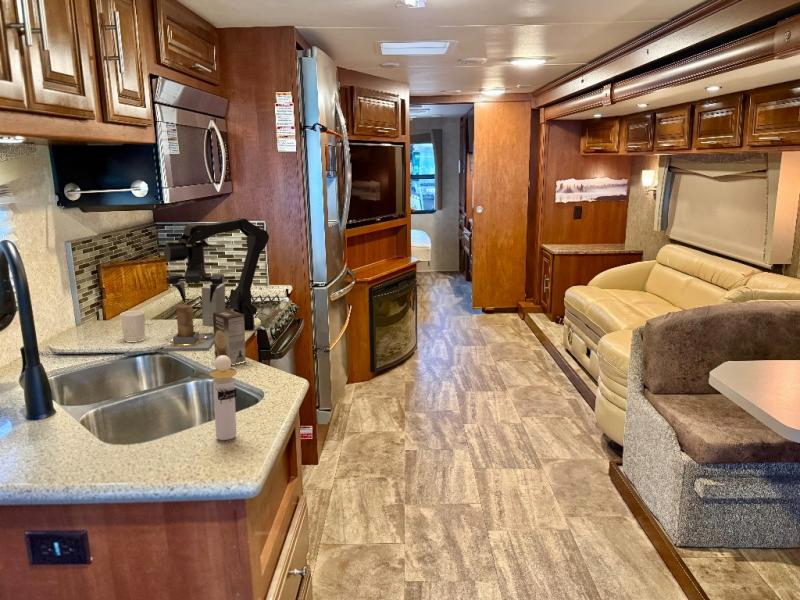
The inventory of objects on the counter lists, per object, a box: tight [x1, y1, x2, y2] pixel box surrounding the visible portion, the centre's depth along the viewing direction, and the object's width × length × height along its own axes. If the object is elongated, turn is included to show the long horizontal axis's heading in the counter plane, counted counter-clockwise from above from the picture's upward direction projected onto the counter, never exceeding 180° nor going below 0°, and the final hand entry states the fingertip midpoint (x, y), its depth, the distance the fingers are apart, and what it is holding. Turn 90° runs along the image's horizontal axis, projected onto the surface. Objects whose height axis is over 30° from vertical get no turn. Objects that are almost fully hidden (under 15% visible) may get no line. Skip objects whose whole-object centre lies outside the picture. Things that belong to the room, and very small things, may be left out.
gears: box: [169, 331, 214, 348], centre depth 208 cm, size 14×16×3 cm
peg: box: [176, 304, 195, 337], centre depth 204 cm, size 4×4×12 cm
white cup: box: [119, 310, 146, 342], centre depth 211 cm, size 8×8×10 cm
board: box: [162, 333, 214, 352], centre depth 209 cm, size 15×18×1 cm
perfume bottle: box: [209, 355, 238, 441], centre depth 134 cm, size 6×6×20 cm
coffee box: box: [212, 309, 247, 365], centre depth 189 cm, size 9×6×16 cm
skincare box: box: [201, 282, 226, 327], centre depth 234 cm, size 8×7×16 cm
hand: (197, 302), depth 214 cm, fingers open, 9 cm apart
